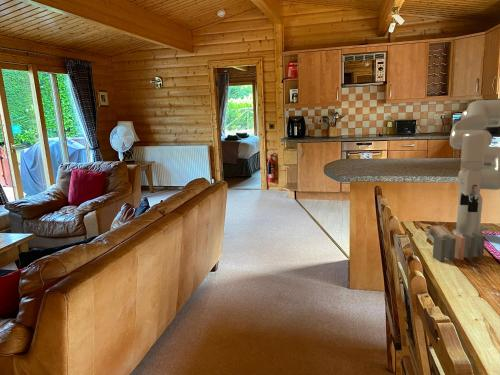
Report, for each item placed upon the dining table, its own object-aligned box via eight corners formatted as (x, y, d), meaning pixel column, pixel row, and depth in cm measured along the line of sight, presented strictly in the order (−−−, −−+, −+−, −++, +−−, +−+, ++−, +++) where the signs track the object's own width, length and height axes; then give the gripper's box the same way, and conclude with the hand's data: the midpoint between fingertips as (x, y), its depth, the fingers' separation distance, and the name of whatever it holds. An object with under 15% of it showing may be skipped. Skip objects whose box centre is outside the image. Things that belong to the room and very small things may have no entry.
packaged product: (425, 224, 181) (447, 224, 179) (424, 234, 182) (446, 234, 180) (436, 236, 164) (461, 237, 162) (435, 247, 165) (460, 248, 163)
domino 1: (436, 257, 154) (437, 235, 152) (444, 261, 149) (445, 239, 147) (432, 257, 153) (434, 236, 152) (440, 262, 149) (442, 240, 147)
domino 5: (473, 253, 156) (475, 232, 154) (483, 257, 151) (485, 236, 150) (470, 253, 156) (472, 232, 154) (479, 258, 151) (481, 236, 149)
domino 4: (464, 254, 156) (466, 233, 154) (473, 258, 151) (475, 236, 149) (461, 254, 155) (462, 233, 154) (469, 259, 150) (471, 237, 149)
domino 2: (445, 256, 154) (447, 234, 152) (454, 260, 149) (455, 238, 148) (442, 256, 154) (443, 235, 152) (450, 261, 149) (452, 239, 147)
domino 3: (455, 254, 155) (456, 233, 153) (463, 259, 150) (465, 237, 148) (451, 255, 155) (453, 234, 153) (459, 259, 150) (461, 238, 148)
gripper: (454, 161, 154) (451, 202, 158) (468, 169, 138) (464, 214, 142) (475, 161, 153) (471, 202, 156) (491, 169, 136) (487, 215, 140)
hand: (468, 208), depth 149 cm, fingers open, 9 cm apart
